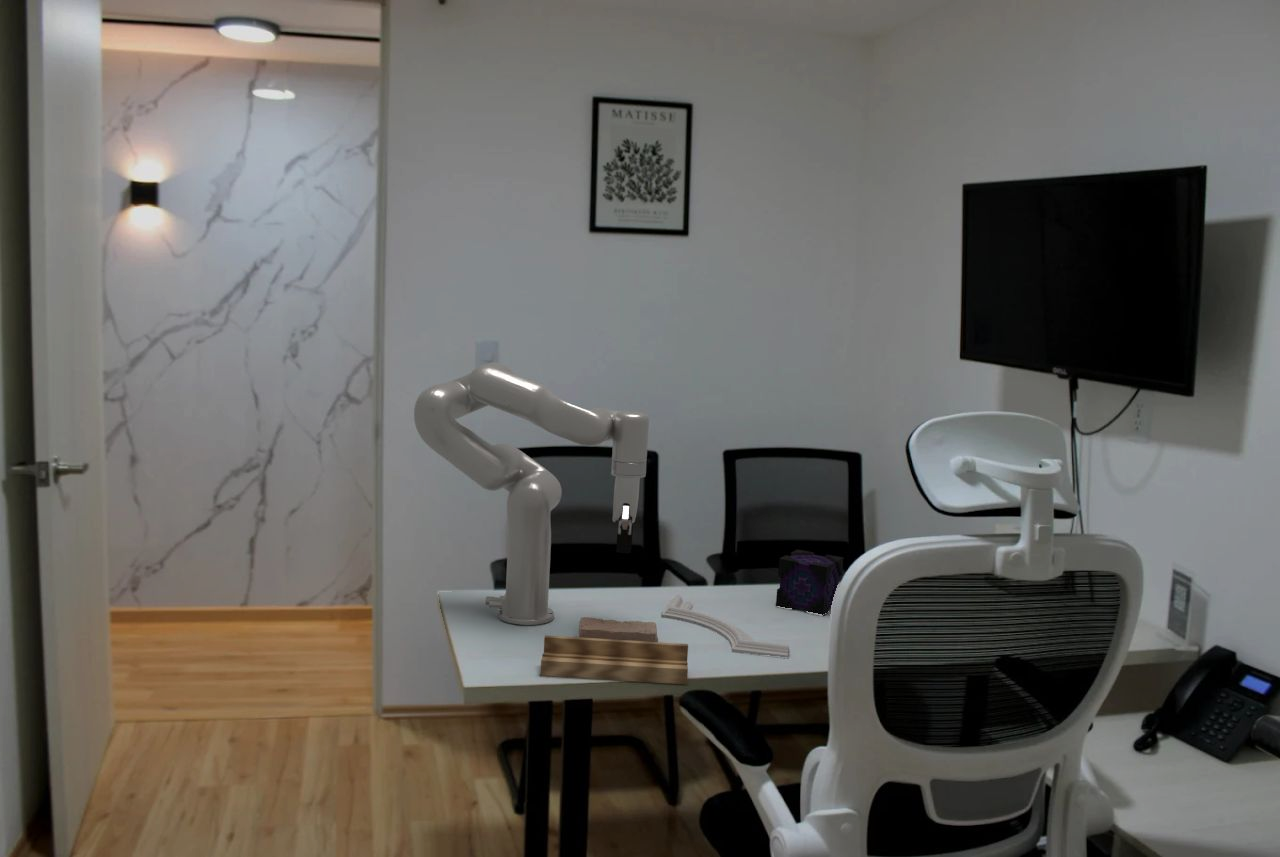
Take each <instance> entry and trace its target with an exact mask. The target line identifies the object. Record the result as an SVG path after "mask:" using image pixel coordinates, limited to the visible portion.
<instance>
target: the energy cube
mask: <svg viewBox="0 0 1280 857" xmlns="http://www.w3.org/2000/svg"><path fill="white" fill-rule="evenodd" d="M778 560H779V561H778V572H777V576H778V577H779V588H777V589H776V596H775V598H776V600H775V607H776V606H780V607H785V608H792V609H794V610H795V609H797V610H801V611H804V612H805V611H808V612H813V613H818V614H822V615H823V614H825V613H827V612H828V611H829V612H830V609H831V605H832V601H833V597H834V594H835V591H836V588H837V585H838V584H839V585H840V577H841V576H842V575H843V570H844V569H843V568H844V567H843V566H844V557H843V556H837V555H832V554H825V555H822V556H821V555H817V554H815V552H812V551H808V550H802V549H795V550H793V551H792V552H790V555H787V554H785V555H784V556H782V557H780V558H779V559H778ZM827 614H828V613H827Z"/></svg>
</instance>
